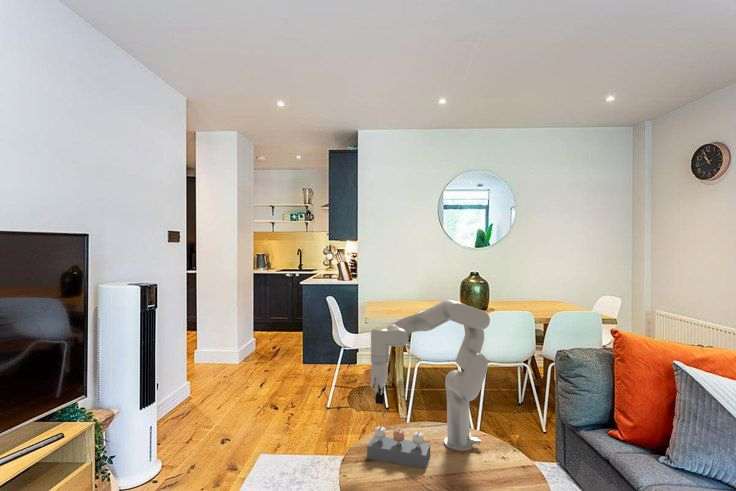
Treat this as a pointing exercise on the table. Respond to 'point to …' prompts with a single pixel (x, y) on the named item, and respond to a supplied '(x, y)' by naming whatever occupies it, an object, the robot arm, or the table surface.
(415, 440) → the knob near
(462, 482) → the table surface
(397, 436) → the knob middle
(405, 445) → the control rail
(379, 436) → the knob far
